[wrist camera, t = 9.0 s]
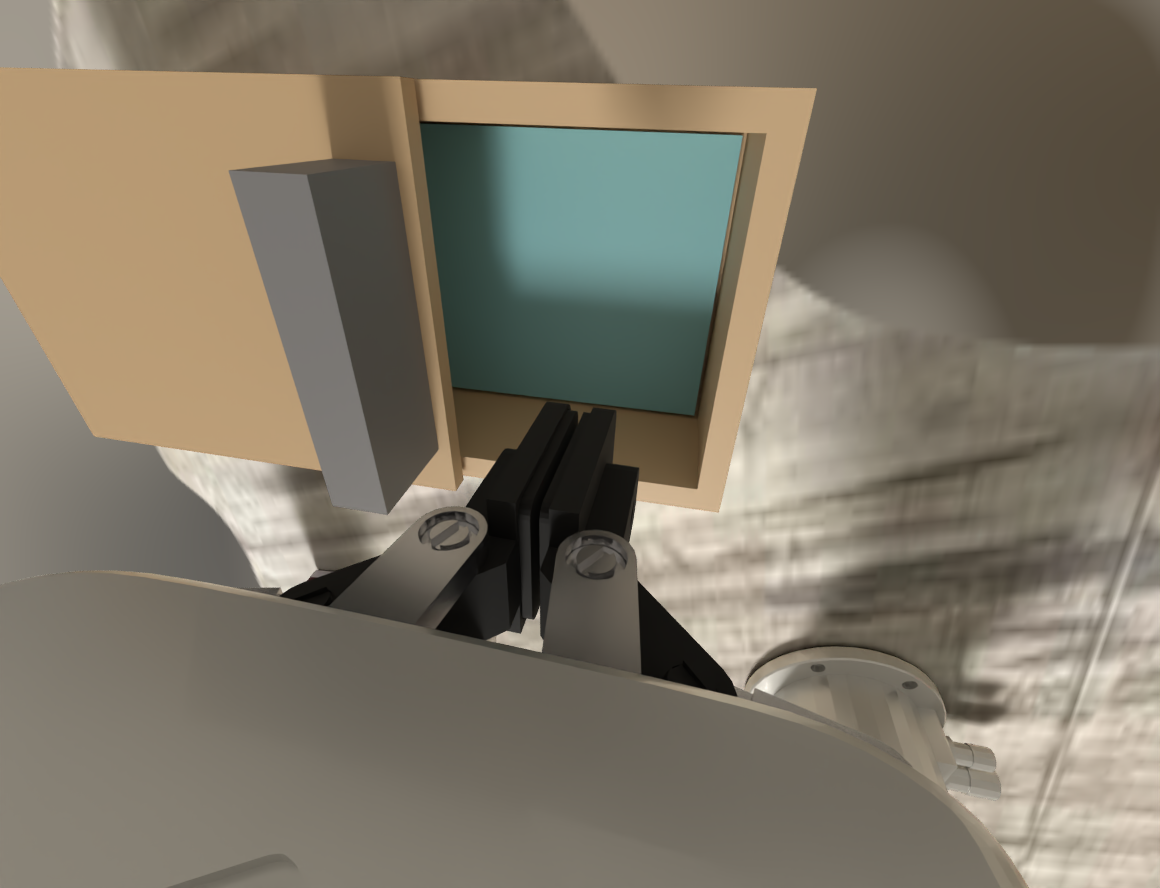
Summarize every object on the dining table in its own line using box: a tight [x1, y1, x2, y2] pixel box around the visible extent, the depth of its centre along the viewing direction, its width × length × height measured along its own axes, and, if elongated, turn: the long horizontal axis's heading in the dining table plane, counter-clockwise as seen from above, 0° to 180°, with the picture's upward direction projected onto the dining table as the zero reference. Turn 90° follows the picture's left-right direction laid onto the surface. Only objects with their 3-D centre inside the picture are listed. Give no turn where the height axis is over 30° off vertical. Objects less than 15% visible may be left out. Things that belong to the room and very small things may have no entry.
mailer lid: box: [0, 68, 463, 515], centre depth 17 cm, size 18×14×5 cm
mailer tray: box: [414, 79, 817, 513], centre depth 21 cm, size 18×14×7 cm
